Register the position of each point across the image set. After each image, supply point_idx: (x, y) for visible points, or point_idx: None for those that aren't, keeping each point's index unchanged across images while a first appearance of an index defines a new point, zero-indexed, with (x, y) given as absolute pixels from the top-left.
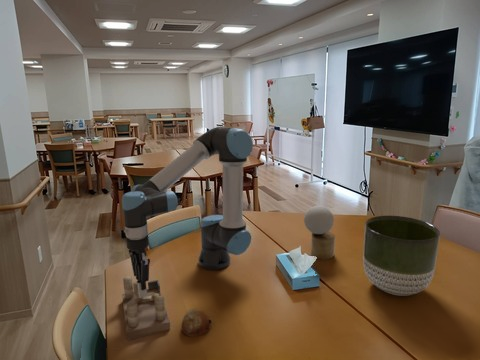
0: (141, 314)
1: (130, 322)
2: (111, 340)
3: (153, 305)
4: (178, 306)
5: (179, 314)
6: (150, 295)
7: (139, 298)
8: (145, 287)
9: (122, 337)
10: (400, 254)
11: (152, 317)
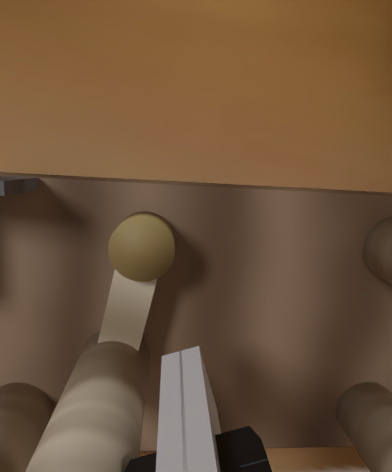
0: (281, 356)
1: None
2: (334, 468)
3: (214, 266)
4: (210, 73)
5: (305, 95)
6: (58, 264)
7: (145, 382)
8: (267, 458)
9: None
10: None
11: (353, 296)
